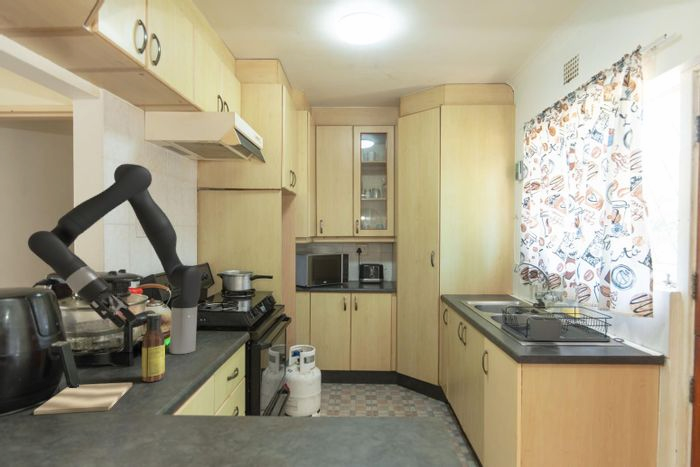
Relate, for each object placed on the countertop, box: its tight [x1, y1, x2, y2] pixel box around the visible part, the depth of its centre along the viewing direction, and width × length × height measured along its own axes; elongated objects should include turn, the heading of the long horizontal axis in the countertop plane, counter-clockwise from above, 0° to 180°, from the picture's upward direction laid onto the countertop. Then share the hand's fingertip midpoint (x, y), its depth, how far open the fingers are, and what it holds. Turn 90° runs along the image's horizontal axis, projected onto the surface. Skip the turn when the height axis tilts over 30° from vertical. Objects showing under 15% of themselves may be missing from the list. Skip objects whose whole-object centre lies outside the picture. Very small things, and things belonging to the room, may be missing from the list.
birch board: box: [33, 382, 133, 416], centre depth 97 cm, size 16×16×1 cm
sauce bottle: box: [141, 312, 166, 383], centre depth 113 cm, size 6×6×20 cm
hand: (128, 322), depth 111 cm, fingers open, 8 cm apart
